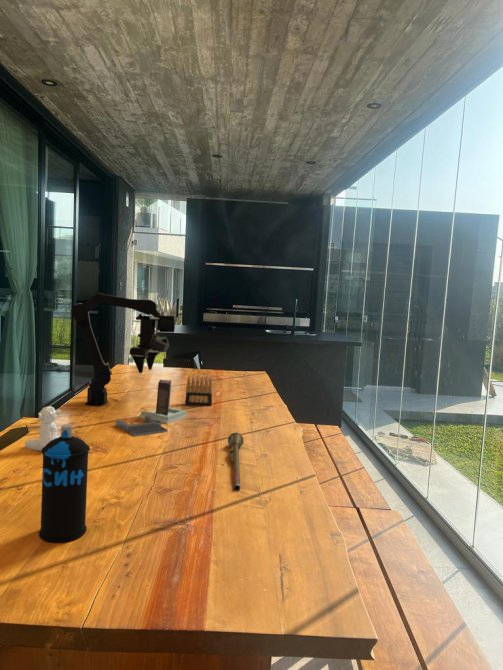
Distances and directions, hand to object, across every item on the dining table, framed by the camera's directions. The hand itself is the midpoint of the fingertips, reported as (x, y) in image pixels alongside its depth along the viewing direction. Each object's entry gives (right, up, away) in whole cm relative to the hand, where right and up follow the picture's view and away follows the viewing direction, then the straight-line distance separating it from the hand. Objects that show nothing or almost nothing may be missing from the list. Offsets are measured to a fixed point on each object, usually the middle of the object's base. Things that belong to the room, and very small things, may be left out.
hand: (145, 371), depth 191 cm
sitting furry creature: (-14, -17, -57) cm, 62 cm away
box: (+10, -14, -17) cm, 24 cm away
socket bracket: (+6, -16, -33) cm, 37 cm away
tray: (+10, -15, -17) cm, 25 cm away
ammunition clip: (+20, -14, +6) cm, 25 cm away
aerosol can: (+7, -22, -101) cm, 104 cm away
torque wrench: (+37, -21, -60) cm, 73 cm away
